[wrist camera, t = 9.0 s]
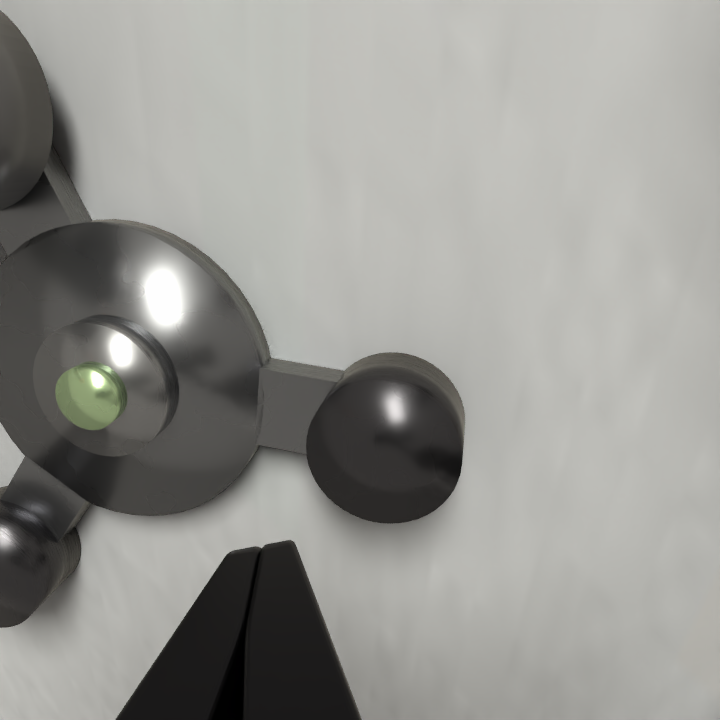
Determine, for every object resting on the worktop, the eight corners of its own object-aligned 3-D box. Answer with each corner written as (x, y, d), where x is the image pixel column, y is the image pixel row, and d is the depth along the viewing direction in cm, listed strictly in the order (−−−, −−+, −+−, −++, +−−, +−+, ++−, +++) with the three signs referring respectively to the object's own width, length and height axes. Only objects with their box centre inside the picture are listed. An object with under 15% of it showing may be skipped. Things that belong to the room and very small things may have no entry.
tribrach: (489, 476, 20) (489, 522, 17) (14, 591, 25) (-36, 638, 23) (263, -144, 15) (222, -199, 13) (-246, 162, 21) (-340, 164, 19)
